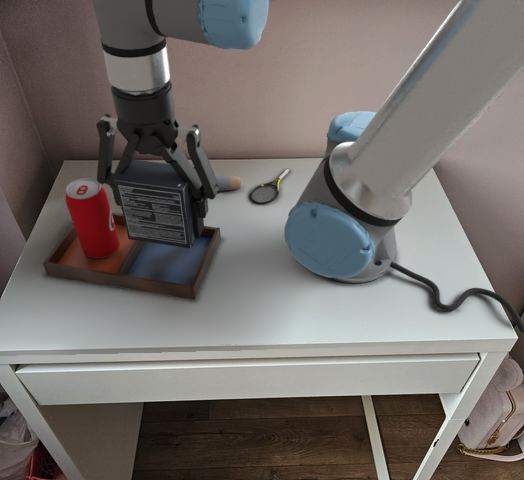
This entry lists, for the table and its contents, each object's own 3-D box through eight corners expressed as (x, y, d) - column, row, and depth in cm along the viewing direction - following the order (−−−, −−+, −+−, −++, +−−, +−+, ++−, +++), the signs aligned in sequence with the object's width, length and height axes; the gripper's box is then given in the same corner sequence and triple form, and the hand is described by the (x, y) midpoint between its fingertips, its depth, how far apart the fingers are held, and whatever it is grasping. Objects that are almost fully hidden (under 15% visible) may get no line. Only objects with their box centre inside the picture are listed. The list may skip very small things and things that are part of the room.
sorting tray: (220, 239, 91) (220, 227, 89) (195, 300, 81) (193, 288, 79) (86, 219, 94) (83, 208, 92) (47, 275, 85) (42, 264, 83)
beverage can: (124, 238, 90) (109, 177, 81) (114, 262, 86) (97, 200, 77) (89, 236, 90) (70, 174, 81) (78, 260, 86) (56, 198, 77)
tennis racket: (244, 200, 98) (267, 208, 97) (244, 197, 98) (267, 205, 96) (277, 168, 105) (298, 175, 104) (277, 164, 105) (299, 171, 103)
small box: (204, 224, 83) (198, 164, 75) (191, 250, 79) (184, 190, 71) (142, 215, 85) (129, 155, 77) (126, 239, 81) (112, 180, 73)
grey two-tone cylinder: (183, 177, 101) (183, 192, 101) (181, 171, 98) (181, 187, 98) (240, 177, 101) (240, 193, 101) (240, 172, 98) (240, 188, 98)
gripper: (238, 78, 65) (242, 223, 82) (68, 60, 68) (106, 203, 85) (222, 106, 60) (230, 253, 78) (40, 85, 63) (86, 231, 81)
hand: (165, 227), depth 81 cm, fingers closed on small box, 10 cm apart
